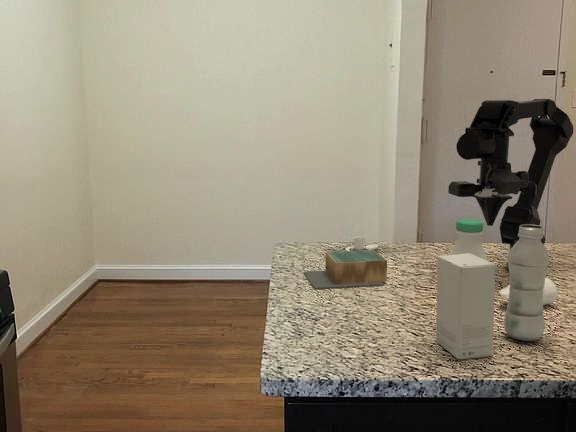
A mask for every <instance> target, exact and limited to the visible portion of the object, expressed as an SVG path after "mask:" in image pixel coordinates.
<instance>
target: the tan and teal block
mask: <svg viewBox="0 0 576 432" xmlns="http://www.w3.org/2000/svg"><path fill="white" fill-rule="evenodd" d="M324 268H325V272H326V273H327V275H328V276H329V277H330V278H331V280H332V281H333V282H334V283H335V284H354V283H372V282H382V283H385V282H386V283H387V277H388V276H387V275H388V259H386V258H385V257H383V256H382V255H380V253H379V252H377V251H376V250H366V249H364V250H362V251H357V250H350V251H346V250H343V251H341V250H340V251H326V252H325V267H324Z"/></svg>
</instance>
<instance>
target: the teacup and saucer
mask: <svg viewBox="0 0 576 432" xmlns="http://www.w3.org/2000/svg"><path fill="white" fill-rule="evenodd" d="M352 240H353V243H354V245H353V244H352ZM349 243H350V245H351V246H348V247H346V248H345V251H351V250H350V249H355V251H362V250H374V251H376V250H378V249H379V245H378V244H375V243H372V244H367V245H366V236H363V235H355V236H354V237H352V238H350V240H349ZM365 245H366V246H365Z"/></svg>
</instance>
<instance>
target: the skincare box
mask: <svg viewBox="0 0 576 432" xmlns="http://www.w3.org/2000/svg"><path fill="white" fill-rule="evenodd" d="M436 262H437V263H436V265H437V266H436V267H437V268H436V325H435V326H436V332H435V333H436V334H435V335H436V336H435V338H436V339H435V341H436V343H438V344H439V346H441V347H442V348H444V349H445V350H446V351H447V352H449V353H450V354H451V355H452V356H454V358H455V359H458V360H467V359H468V360H469V359H470V360H471V359H478V358H485V357H491V356H493V354H494V353H493V351H494V350H493V349H494V347H493V345H494V323H495V322H494V319H495V318H494V317H495V292H496V291H495V290H496V266H497V265H496V264H495V263H493V262H491V261H489V260H488V261H487V260H484V259H482V258H480V257H477V256H475V255H473V254H471V253H466V254H456V255H449V254H447V255H438V256H437V260H436Z"/></svg>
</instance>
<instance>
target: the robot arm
mask: <svg viewBox="0 0 576 432" xmlns="http://www.w3.org/2000/svg"><path fill="white" fill-rule="evenodd" d="M540 117H548V118H541V119H540ZM523 119H524V120H525V119H530V122H529V127H530V129H531V131H532V132H533V133H532V142H533V144H534V148H535V149H534V153H533V155H532V159H531V162H530V164H529V168H528V170H527V171H526V170H519V171H517V172H514V171H512V165H511V162H509V147H510V146H509V145H510V137H514V136H515V132H514V131H513V130H512V129H511V128H510V127H511V126H514V125H516V124H517V123H519V120H523ZM464 130H465V131H464V132H465V133H463V134H461V135H460V137H459V138H458V140H457V142H456V152H457V155H458V156H459V157H460V158H461V159H463V160H464V161H465V160H466V161H469V160H477V166H479V178H476V184H475V183H474V182H470V181H466V180H462V181H461V180H458V181H456V180H455V181H451V182H450V183H449V185H448V189H447V190H448V191H447V192H448V194H450V195H452V196H454V197H455V196H456V197H457V198H458V197H459V198H469V197H470V198H471V197H472V198H474V199H475V200H476V202H477V203H478V206H479V207H480V210H481V212H482V215H483V217H484V220H485V223H486V226H489V227H492V226H494V224H495V221H496V219H497V217H498V215H499V213H500V210H501V209H502V207H503V205H504V204H505V203H506V202H507V201H509V200H512V199H513V196H511V194H512V195H518V194H519V196H518V197H517V198H518V199H517V201H516V203H515V204H513V205H507V206H506V207H505V209H504V213H503V215H502V218H501V219H500V224H499V232H500V233H499V234H500V239H501V243H502V244H507V245H509V250H510V249H511V248H512V247H513V246H514V244H515V243H516V242H517V241H518V240H519V238H520V237H518V233H519V227H520V225H525V224H530V225H539V226H541V222H542V221H541V218H540V214H539V212H538V208H539V206H540V203H541V200H542V197H543V194H544V191H545V188H546V185H547V182H548V180H549V176H550V173H551V171H552V168H553V164H554V162H555V159H556V156H558V154H560V153H561V152H562V151H563V150H564V149H566V148H567V146H568V144H569V142H570V139H571V138H572V137H573V134H574V125H573V123H572V121H571V119H570V117H569V115H568V114H567V113H566V112H565V111H563V110H562V109H561V108H559V107H558V106H557V104H556V102H555V100H553V99H551V98H534V99H532V100H524V101H515V100H511V99H498V100H497V99H494V100H492V99H491V100H488V99H487V100H486V99H485V100H483V101H482V102H481V105H480V106H479V107H478V110H477V112H476V113H475V115H474V118H473V119H472V122H471V124H470V125H469V127H465V129H464ZM478 159H480V160H478ZM542 235H543V238H542V239H541V242H542V244H543V245H544V244H545V241H546V238H545V235H544V234H542ZM505 267H506V271H507V272H509V264H508V262H507V263H506V266H505Z"/></svg>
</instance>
